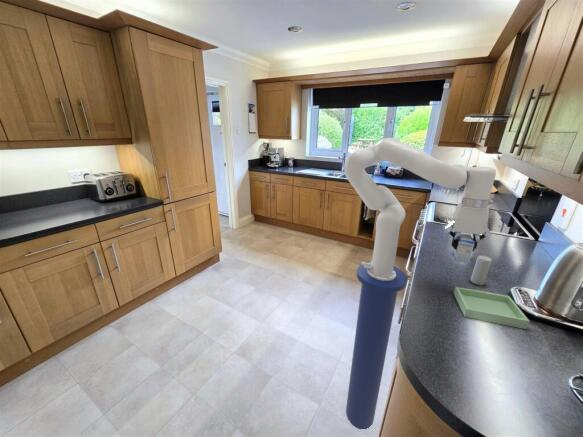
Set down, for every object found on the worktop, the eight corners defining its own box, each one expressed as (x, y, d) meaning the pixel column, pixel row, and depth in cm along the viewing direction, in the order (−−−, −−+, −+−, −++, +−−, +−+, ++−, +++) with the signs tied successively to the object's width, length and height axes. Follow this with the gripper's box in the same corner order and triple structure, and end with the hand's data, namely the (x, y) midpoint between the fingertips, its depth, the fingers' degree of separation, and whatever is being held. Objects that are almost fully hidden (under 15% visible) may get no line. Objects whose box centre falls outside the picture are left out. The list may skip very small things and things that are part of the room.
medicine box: (452, 252, 97) (456, 232, 94) (465, 254, 95) (470, 233, 92) (455, 260, 90) (460, 239, 87) (469, 263, 88) (475, 241, 86)
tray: (464, 316, 85) (466, 309, 84) (453, 293, 97) (455, 286, 96) (526, 329, 80) (529, 321, 78) (506, 303, 92) (509, 296, 91)
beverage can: (468, 278, 107) (475, 254, 103) (481, 280, 106) (489, 256, 102) (472, 284, 103) (480, 259, 99) (485, 286, 101) (494, 261, 97)
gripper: (498, 201, 86) (485, 247, 92) (444, 198, 91) (435, 242, 97) (508, 207, 80) (493, 256, 86) (449, 203, 85) (439, 250, 91)
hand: (462, 248), depth 91 cm, fingers closed on medicine box, 4 cm apart
